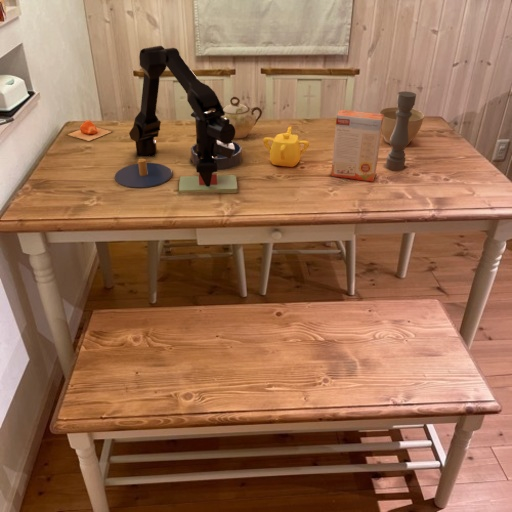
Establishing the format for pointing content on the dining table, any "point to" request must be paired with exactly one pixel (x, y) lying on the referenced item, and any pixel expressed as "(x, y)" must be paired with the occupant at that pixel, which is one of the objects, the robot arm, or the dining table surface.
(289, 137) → the teapot
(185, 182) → the board
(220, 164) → the pot
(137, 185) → the lid
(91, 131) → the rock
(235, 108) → the sugar bowl
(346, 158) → the cracker box
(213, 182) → the meat
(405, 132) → the candle holder
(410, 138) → the planter bowl
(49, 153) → the dining table surface
